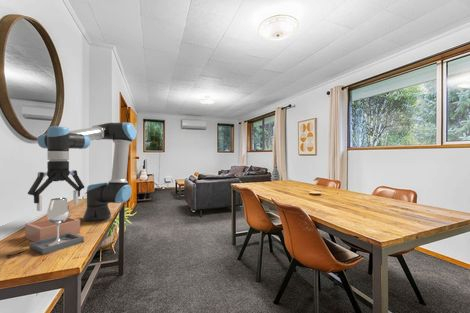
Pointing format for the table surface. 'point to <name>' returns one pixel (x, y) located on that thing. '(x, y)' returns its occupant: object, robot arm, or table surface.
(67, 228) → the holder
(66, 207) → the wineglass
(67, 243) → the tray
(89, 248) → the table surface
